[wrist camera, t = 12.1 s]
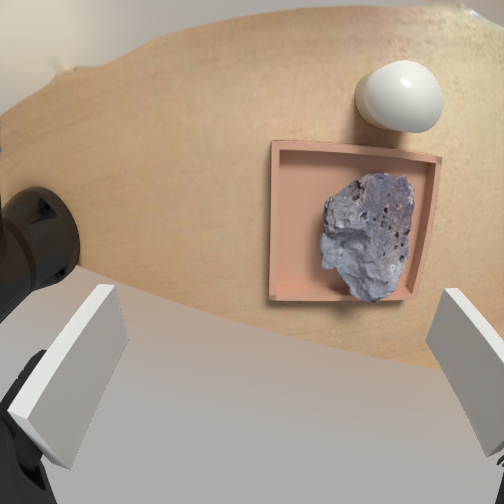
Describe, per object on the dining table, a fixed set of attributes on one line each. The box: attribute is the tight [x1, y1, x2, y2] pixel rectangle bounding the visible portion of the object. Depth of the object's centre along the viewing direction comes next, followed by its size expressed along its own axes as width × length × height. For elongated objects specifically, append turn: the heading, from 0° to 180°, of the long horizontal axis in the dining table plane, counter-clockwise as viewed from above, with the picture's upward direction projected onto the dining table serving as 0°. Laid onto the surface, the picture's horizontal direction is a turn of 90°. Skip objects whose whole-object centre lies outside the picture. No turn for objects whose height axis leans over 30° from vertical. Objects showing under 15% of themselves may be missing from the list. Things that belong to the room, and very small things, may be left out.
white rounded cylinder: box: [355, 60, 443, 133], centre depth 26 cm, size 7×7×8 cm
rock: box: [320, 173, 415, 304], centre depth 32 cm, size 14×10×10 cm
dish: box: [269, 140, 442, 301], centre depth 35 cm, size 20×19×3 cm
